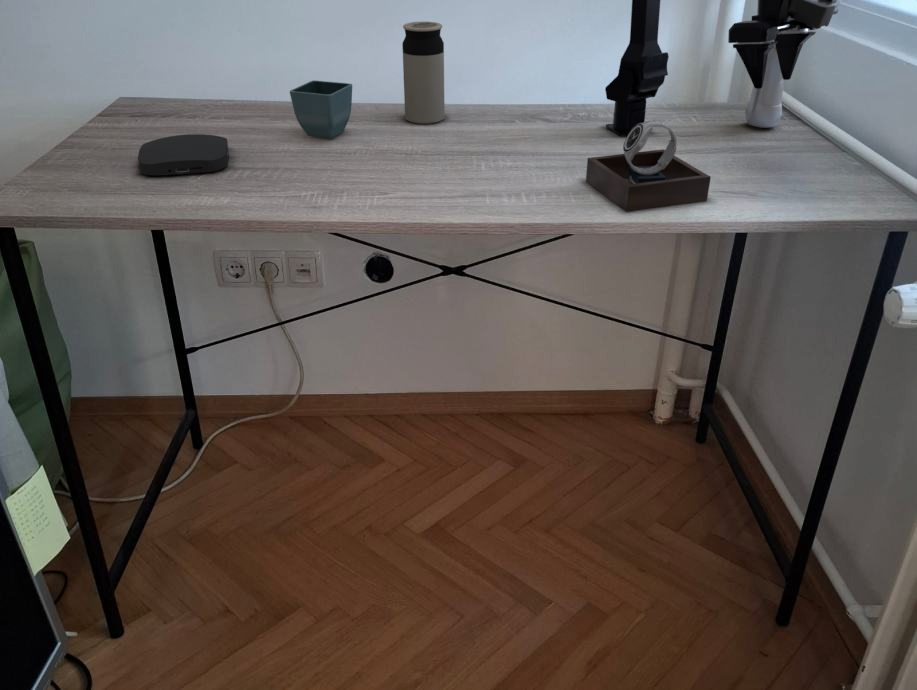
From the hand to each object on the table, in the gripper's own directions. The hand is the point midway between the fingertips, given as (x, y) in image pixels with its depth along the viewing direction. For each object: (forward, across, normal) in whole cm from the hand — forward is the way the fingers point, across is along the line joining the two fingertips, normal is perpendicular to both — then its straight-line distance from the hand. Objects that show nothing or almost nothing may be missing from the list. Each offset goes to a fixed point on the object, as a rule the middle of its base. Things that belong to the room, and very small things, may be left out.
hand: (772, 83), depth 133 cm
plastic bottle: (+12, +25, +15) cm, 31 cm away
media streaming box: (+4, -66, +74) cm, 99 cm away
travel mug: (+5, -19, +64) cm, 67 cm away
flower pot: (+5, -39, +70) cm, 80 cm away
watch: (+14, -21, +10) cm, 27 cm away
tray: (+14, -21, +10) cm, 27 cm away
